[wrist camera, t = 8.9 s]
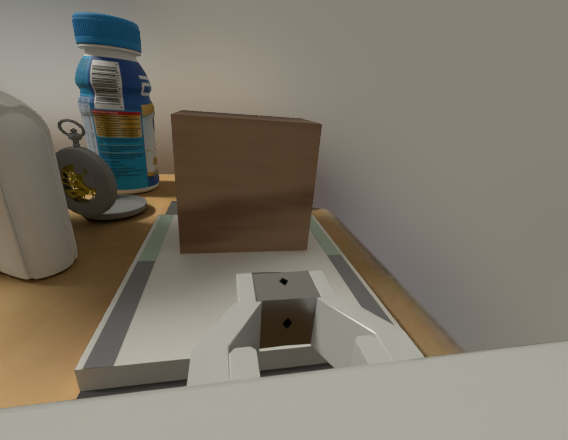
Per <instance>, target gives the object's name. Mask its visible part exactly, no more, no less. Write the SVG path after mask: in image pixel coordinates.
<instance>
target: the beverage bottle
mask: <svg viewBox="0 0 568 440" xmlns="http://www.w3.org/2000/svg"><path fill="white" fill-rule="evenodd" d="M72 17H73V19H72V22H73V28H74V34H75V39H76V43H77V45H78V47H79V48H80V49H83V50H85V54H84V56H83V57H82V59H81V61H80V63H79V65H78V67H77V70H76V75H75V83H76V85H77V86H78V87H79V89H80V97H79V100H78V107H79V111H80V113H81V115H82V121H83V126H84V129H85V132H86V133H85V137H86V142H87V148H88V149H89V150H91V151H93V152H95V153H96V154H97V155H99V156H100V157H101V158H102V159H103V160H104V161H105V162H106V163H107V164H108V166H109V167H110V169H111V171H112V172H113V174H114V176H115V180H116V184H117V194H136V193H143V192H147V191H150V190H153V189H155V188H156V187H157V186H158V185H159V174H158V165H157V153H156V141H155V128H154V113H155V112H154V106H153V104H152V102H151V100H150V98H149V94H150V91H151V85H150V82H149V79H148V77H147V76H146V73H145V72H144V70H143V69H142V67H141V66H140V64H139V63H138V62H137V60H136V56H141V40H140V31H139V28H138V26H137V24H135V23H133V22H131V21H128V20H126V19H122V18H119V17H114V16H110V15H105V14H98V13H89V12H77V13H74V14H73V16H72Z"/></svg>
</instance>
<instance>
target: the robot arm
mask: <svg viewBox="0 0 568 440" xmlns="http://www.w3.org/2000/svg"><path fill="white" fill-rule="evenodd" d="M302 344H310V345H311V346H312V347H313V348H314V349H315V350H316V351H317V352H318V353H319V354H320V355H321V356H322V357H323V358H324V359H326V360H327V361H328V362H329V363H330V364H331V365H332V366H333V367H334V368H333V369H325V370H317V371H309V372H300V373H292V374H284V375H275V376H267V377H260V372H259V365H258V358H257V354H258V352H259V349H263V348H271V347H279V346H288V345H302ZM0 440H568V340H566V341H559V342H558V341H557V342H549V343H541V344H532V345H524V346H516V347H507V348H499V349H491V350H483V351H475V352H466V353H458V354H450V355H441V356H433V357H424V356H423V354H422V353H421V352H420V351H419V349H418V348H417V347H416V345H415V344H414V343H413V342H412V340H411V339H410V338H409V337H408V335H407V334H406V333H405V331H403V330H402V329H400V328H398V327H396V326H394V325H393V324H391V323H389V322H387V321H385V320H384V319H382V318H380V317H378V316H376V315H374V314H373V313H371V312H369V311H367V310H365V309H364V308H362V307H360V306H358V305H356V304H355V303H353V302H351V301H349V300H347V299H346V298H344V297H342V296H337V295H336V293H335V292H334V290H333V288H332V287H331V285H330V283H329V282H328V280H327V278H326V277H325V275H324V273H323V272H322V270H320V269H318V270H306V271H293V272H257V273H236V303H234V304H233V305H232V306H231V307H230V308H229V309H228V311H227V312H226V313H225V314H224V315H223V316H222V317H221V318H220V320H219V321H218V322H217V323H216V324H215V325H214V326H213V327H212V328H211V330H210V331H209V332H208V333H207V334H206V335H205V336H204V337H203V338H202V340H201V341H200V342H199V343H198V344H197V345H196V346H195V347H194V349H193V350H192V351H191V357H190V364H189V372H188V380H187V386H183V387H175V388H167V389H158V390H150V391H142V392H133V393H125V394H117V395H108V396H100V397H92V398H83V399H75V400H67V401H58V402H50V403H42V404H33V405H25V406H16V407H8V408H0Z"/></svg>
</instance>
